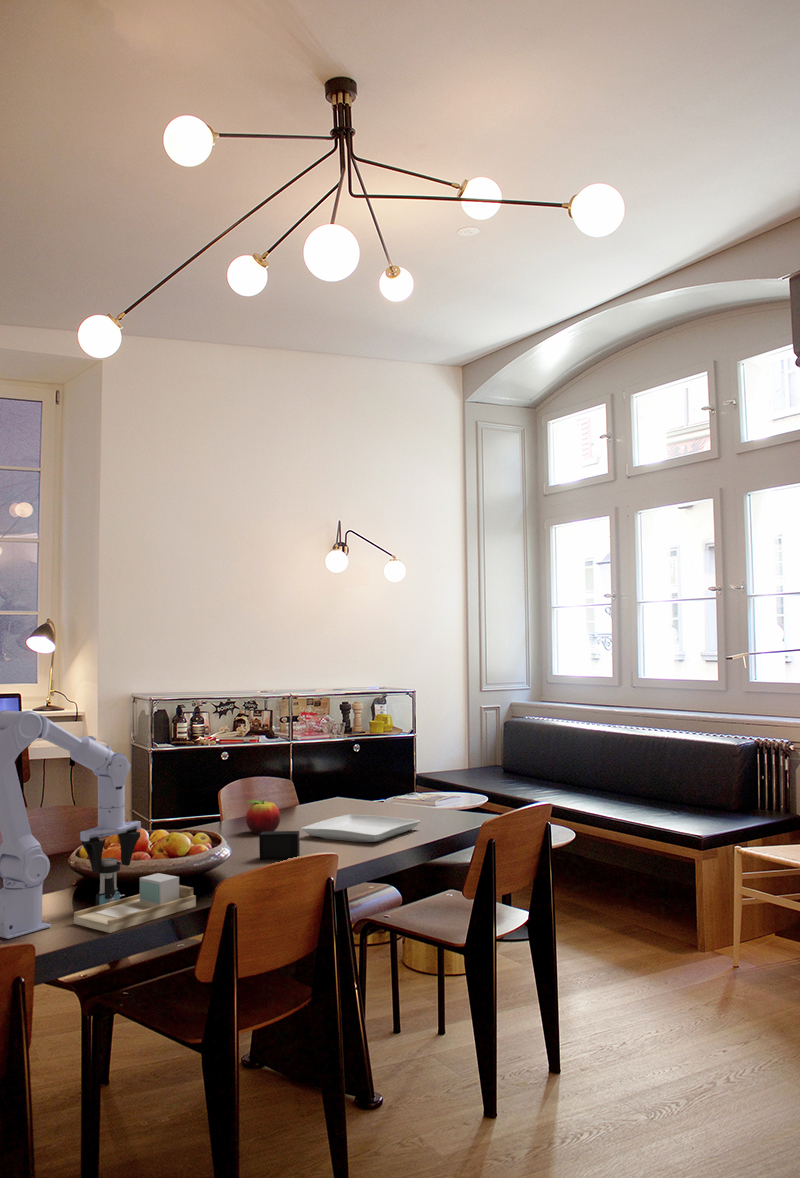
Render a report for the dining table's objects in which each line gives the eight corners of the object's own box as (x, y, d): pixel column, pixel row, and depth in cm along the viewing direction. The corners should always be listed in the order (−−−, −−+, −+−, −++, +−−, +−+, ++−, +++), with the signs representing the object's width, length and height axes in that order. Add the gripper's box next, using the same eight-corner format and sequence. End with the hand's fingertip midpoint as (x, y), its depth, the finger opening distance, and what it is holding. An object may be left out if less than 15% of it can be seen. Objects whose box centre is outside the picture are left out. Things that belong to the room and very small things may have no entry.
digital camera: (300, 855, 241) (300, 829, 242) (298, 860, 236) (297, 833, 236) (262, 856, 241) (262, 830, 242) (259, 860, 236) (259, 834, 236)
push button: (117, 899, 199) (118, 854, 200) (131, 903, 196) (131, 857, 196) (90, 906, 194) (91, 860, 195) (103, 910, 191) (103, 863, 191)
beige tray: (110, 932, 174) (110, 912, 174) (73, 923, 181) (74, 904, 181) (195, 906, 192) (195, 888, 192) (159, 898, 199) (159, 881, 199)
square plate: (376, 847, 251) (376, 833, 251) (299, 839, 264) (298, 826, 264) (422, 830, 274) (421, 818, 274) (348, 824, 288) (348, 812, 288)
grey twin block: (159, 906, 187) (159, 882, 188) (138, 901, 191) (138, 878, 192) (179, 900, 192) (179, 876, 192) (158, 896, 196) (158, 873, 196)
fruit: (277, 835, 270) (277, 802, 271) (242, 836, 270) (242, 802, 271) (283, 828, 281) (282, 796, 282) (249, 829, 281) (249, 797, 282)
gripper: (94, 812, 188) (94, 877, 187) (149, 802, 200) (149, 863, 199) (74, 810, 193) (74, 873, 191) (129, 800, 204) (129, 860, 203)
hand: (111, 868), depth 196 cm, fingers open, 7 cm apart
